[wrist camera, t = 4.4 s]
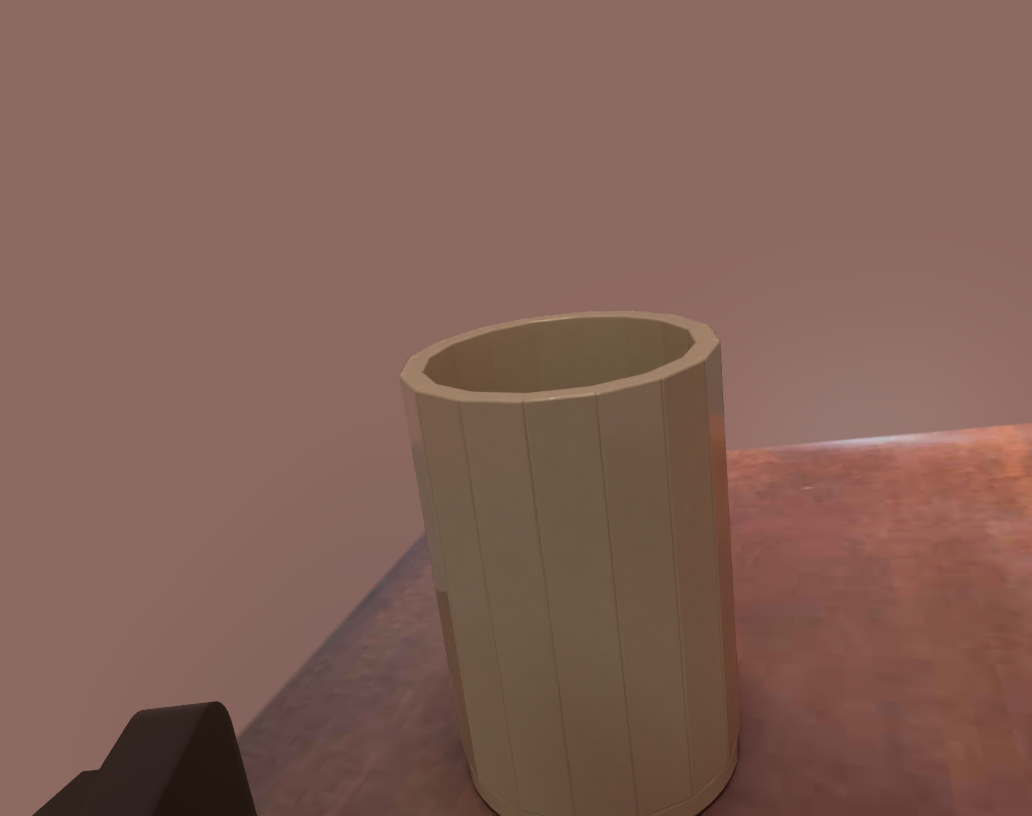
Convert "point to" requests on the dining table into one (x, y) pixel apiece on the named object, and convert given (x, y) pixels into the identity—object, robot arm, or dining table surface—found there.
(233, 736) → the robot arm
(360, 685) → the dining table surface
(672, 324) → the cup
